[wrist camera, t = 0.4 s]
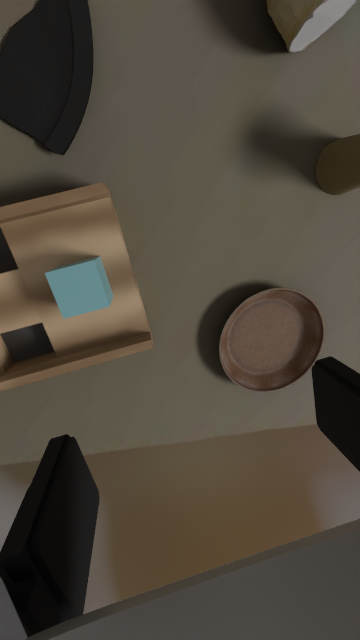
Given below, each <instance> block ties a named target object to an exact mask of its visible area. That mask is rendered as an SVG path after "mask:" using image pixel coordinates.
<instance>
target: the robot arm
mask: <svg viewBox="0 0 360 640" xmlns="http://www.w3.org/2000/svg"><path fill="white" fill-rule="evenodd" d="M312 378H313V389H314V399H315V410H316V420H317V424H318V427H319V428H320V430H321V431H322V432H323V433H324V434H325V435H326V437H327V438H328V439H329V440H330V441H331V442H332V443H333V444H334V445H335V446H336V447H337V448H338V449H339V450H340V451H341V452H342V454H343V455H344V456H345V457H346V458H347V459H348V460H349V461H350V462H351V463H352V464H353V465H354V466H355V467H356V468H357V469H358V470H359V471H360V374H359V373H357V372H356V371H354V370H353V369H351V368H349V367H348V366H346V365H345V364H343V363H341V362H340V361H338V360H336V359H335V358H333V357H327V358H323V359H320V360H317V361H315V365H313V366H312ZM98 506H99V492H98V489H97V486H96V484H95V482H94V480H93V477H92V475H91V473H90V471H89V468H88V466H87V464H86V461H85V459H84V457H83V455H82V452H81V450H80V448H79V445H78V443H77V441H76V439H75V438H74V437H70V436H69V435H67V434H66V435H62V436H59V437H56V438H52V439H51V440H50V441H49V443H48V446H47V448H46V450H45V453H44V455H43V457H42V460H41V462H40V464H39V467H38V469H37V471H36V474H35V476H34V478H33V481H32V483H31V485H30V487H29V488H28V490H27V492H26V494H25V497H24V499H23V501H22V503H21V506H20V508H19V510H18V513H17V515H16V518H15V519H14V522H13V524H12V526H11V529H10V531H9V533H8V536H7V538H6V540H5V543H4V545H3V547H2V550H1V552H0V640H360V519H358V520H355V521H352V522H349V523H346V524H343V525H340V526H337V527H334V528H331V529H328V530H325V531H322V532H319V533H316V534H313V535H310V536H307V537H304V538H301V539H298V540H295V541H292V542H290V543H286V544H284V545H281V546H277V547H275V548H272V549H269V550H266V551H263V552H260V553H257V554H254V555H251V556H248V557H245V558H243V559H239V560H236V561H234V562H231V563H228V564H225V565H222V566H219V567H216V568H214V569H210V570H208V571H204V572H202V573H199V574H196V575H193V576H190V577H187V578H185V579H182V580H179V581H176V582H173V583H170V584H167V585H165V586H162V587H158V588H156V589H153V590H150V591H147V592H144V593H141V594H138V595H136V596H133V597H130V598H127V599H124V600H121V601H119V602H116V603H113V604H110V605H108V606H105V607H102V608H100V609H97V610H94V611H92V612H89V613H86V614H83V611H84V604H85V596H86V589H87V583H88V576H89V569H90V562H91V555H92V547H93V541H94V534H95V527H96V520H97V513H98Z"/></svg>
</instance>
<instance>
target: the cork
mask: <svg viewBox="0 0 360 640" xmlns="http://www.w3.org/2000/svg"><path fill="white" fill-rule="evenodd" d="M315 174H316V179H317V182H318V184H319V186H320V188H321V189H322V190H323V191H325V192H326V193H328V194H331V195H340V194H343V193H345V192H348V191H351V190H353V189H356V188H359V187H360V134H358V135H354V136H349V137H345V138H341V139H337V140H335V141H333V142H330V143H329V144H328V145H327V146H326V147H325V148H324V149H323V151H322V152H321V154H320V155H319V157H318V160H317V163H316V173H315Z"/></svg>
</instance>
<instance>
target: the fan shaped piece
mask: <svg viewBox="0 0 360 640" xmlns="http://www.w3.org/2000/svg"><path fill="white" fill-rule="evenodd" d="M92 76H93V39H92V27H91V19H90V12H89V6H88V1H87V0H40V1H39V3H38V5H37V6H36V8H35V9H33V10H32V11H31V12H30V13H28V14H27V15H26V16H25V17H24V18H23V19H22V20H21V21H19V22H17V23H16V24H15V25H14V26H13V27H12V29H11V32H10V33H9V35H8V37H7V39H6V41H5V44H4V46H3V48H2V51H1V53H0V118H2V119H3V120H5V121H6V122H7V123H9V124H11V125H12V126H14V127H16V128H17V129H19V130H21V131H23V132H25V133H27V134H28V135H30V136H32V137H34V138H36V139H37V140H38V141H40V142H41V143H42V145H44V146H45V147H46V148H48V149H49V150H50V151H52V152H55V153H58V154H62V155H64V154H65V153H66V151H67V150H68V148H69V146H70V144H71V143H72V141H73V139H74V137H75V135H76V133H77V131H78V129H79V127H80V124H81V122H82V119H83V116H84V114H85V110H86V107H87V104H88V100H89V96H90V91H91V85H92Z"/></svg>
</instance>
